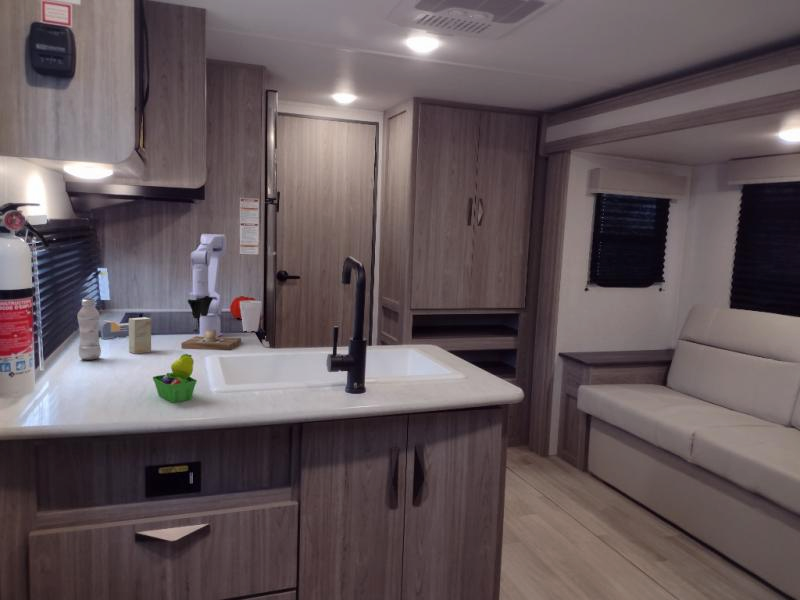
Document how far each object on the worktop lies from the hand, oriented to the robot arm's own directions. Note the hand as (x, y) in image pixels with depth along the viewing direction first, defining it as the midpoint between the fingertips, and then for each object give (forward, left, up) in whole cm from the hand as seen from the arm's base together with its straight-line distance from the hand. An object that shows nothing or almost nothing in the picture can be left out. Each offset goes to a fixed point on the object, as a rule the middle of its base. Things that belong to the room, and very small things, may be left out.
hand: (200, 317), depth 219 cm
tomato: (-64, -2, -11) cm, 65 cm away
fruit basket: (+70, +21, -11) cm, 74 cm away
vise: (-9, -35, -11) cm, 38 cm away
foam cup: (-32, +10, -11) cm, 35 cm away
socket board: (+3, +6, -10) cm, 12 cm away
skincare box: (+19, -14, -11) cm, 26 cm away
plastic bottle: (+33, -24, -11) cm, 43 cm away
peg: (+4, +5, -10) cm, 13 cm away
